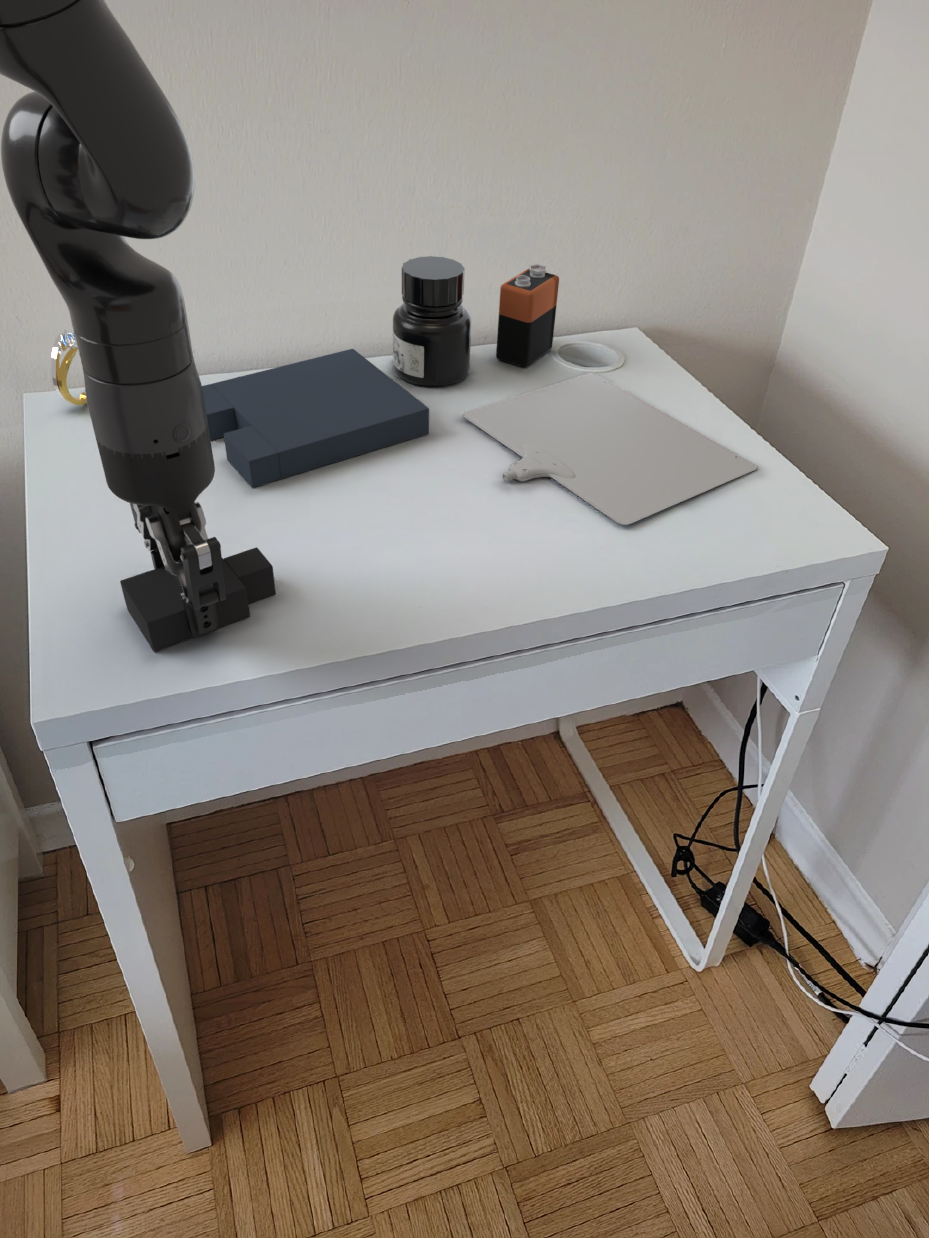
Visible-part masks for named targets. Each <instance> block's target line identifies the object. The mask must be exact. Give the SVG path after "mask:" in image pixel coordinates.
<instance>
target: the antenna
mask: <svg viewBox="0 0 929 1238" xmlns="http://www.w3.org/2000/svg"><path fill="white" fill-rule="evenodd" d="M462 417H463V418H464V419H466V420H467V421H469V422H470V423H472V424H473V425H474V426H475V427H477V428H479V429H480V430H482V431H483V432H485V433H486V434H488V435H489V436H490V437H492V438H493V439H494V440H496V441H498V442H499V443H501V444H502V445H504V446H505V447H507V448H508V449H510V451H512V452H514V454H517V455H518V456H520V457H521V459H520V460H517V461H515V462H512V463H510V464H509V466H508V467H507V468H508V471H505V472H503V473H502V479H503V481H505V482H508V481H511V480H513V479H514V480H516V481H519V482H521V483H523V482H527V481H529V480H532V479H538V478H551V479H553V480H554V481H556V482H557V483H559V484H560V485H562V486H563V487H564V488H566V489H567V490H569V491H570V492H572V493H573V494H575V495H576V496H578V497H579V498H580V499H582V500H583V501H585V502H586V503H588V504H589V505H591V506H593V508H595V509H596V510H598V511H600V512H601V513H602V514H604V515H605V516H607V517H608V518H610V519H611V520H613V522H615V523H617V524H618V525H621V526H629V525H632V524H634V523H636V522H639V521H640V520H644V519H646V518H648V517H650V516H652V515H654V514H657V513H659V512H662V511H664V510H667V509H669V508H671V507H673V506H676V505H677V504H680V503H682V502H685V501H687V500H689V499H692V498H694V497H696V496H698V495H700V494H701V495H702V494H704V493H705V492H708V491H710V490H713V489H715V488H717V487H720V486H721V485H724V484H727V483H729V482H731V481H733V480H736V479H737V478H740V477H743V476H746V475H747V474H749V473H752V472H753V471H756V470H757V469H758V466H757V465H756V464H755V463H754V462H752V461H750V460H749V459H747V458H745V457H743V456H742V455H740V454H737V453H736V452H734V451H733V450H731V449H729V448H727V447H726V446H724V445H723V444H721V443H718V442H717V441H715V440H713V439H711V438H709V437H708V436H706V435H704V434H703V433H701V432H700V431H698V430H696V429H694V428H693V427H690V426H688V425H687V424H685V423H684V422H682V421H680V420H679V419H676V418H674V416H671V415H669V414H667V413H666V412H664V411H662V410H660V409H658V408H657V407H655V406H654V405H651V404H650V403H648V402H646V401H645V400H643V399H641V398H639V397H637V396H636V395H634V394H632V393H631V392H628V391H627V390H625V389H623V388H622V387H620V386H618V385H616V384H615V383H613V382H611V381H609V380H608V379H605V377H603V376H601V375H599V374H596V373H594V372H593V373H592V372H588V373H584V374H581V375H578V376H576V377H572V378H569V379H566V380H563V381H562V380H561V381H559V382H556V383H553V384H550V385H546V386H542V387H540V388H537V389H533V390H531V391H527V392H524V393H521V394H518V395H514V396H512V397H511V396H510V397H508V398H504V399H502V400H498V401H496V402H495V401H494V402H491V403H489V404H486V405H483V406H479V407H476V408H473V409H470V410H469V409H468V410H466V411H464V412H463V413H462Z"/></svg>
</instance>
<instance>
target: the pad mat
mask: <svg viewBox="0 0 929 1238" xmlns="http://www.w3.org/2000/svg"><path fill="white" fill-rule="evenodd" d="M202 390H203V395H204V402H205V408H206V414H207V421H208V427H209V434H210V440H211V441H214V440H219V439H222V438H223V440H224V441H223V442H224V447H225V454H226V460H227V461H228V463H230V465H231V466H232V467H233V468H234V469H235V471H236V472H237V473H238V474H239V475H240V476H241V477H242V479H244V480H245V481H246V483H247V484H248V485H249V486H250V487H251V488H252V489H254V488H257V487H260V486H265V485H267V484H270V483H273V482H277V481H279V480H283V479H286V478H290V477H292V476H295V475H299V474H303V473H305V472H309V471H313V470H315V469H319V468H322V467H325V466H329V465H331V464H336V463H338V462H341V461H345V460H348V459H351V458H354V457H358V456H361V455H364V454H367V453H372V452H374V451H377V450H381V449H383V448H388V447H391V446H393V445H396V444H400V443H403V442H406V441H409V440H413V439H416V438H419V437H423V436H426V435H429V433H430V407H428V406H427V405H426V404H424V403H423V402H422V401H420V399H418V398H417V397H415V396H414V395H413V394H411V392H409V391H408V390H407V389H405V388H404V387H403V386H401V385H400V384H399V383H398V382H397V381H395V380H394V379H392V378H391V377H390V376H389V375H388V374H386V373H385V372H384V371H382V370H381V369H380V368H378V367H377V366H376V365H374V363H372V362H371V361H370V360H368V359H367V358H366V357H365V356H364V355H362V354H361V353H359V351H357V350H355V349H354V348H350V349H346V350H345V349H344V350H342V351H338V352H337V351H336V352H334V353H329V354H326V355H322V356H318V357H312V358H308V359H305V360H301V361H298V362H293V363H289V364H285V365H281V366H277V367H274V368H273V367H272V368H269V369H265V370H261V371H257V372H253V373H249V374H244V375H241V376H237V377H232V378H229V379H225V380H221V381H216V382H213V383H209V384H205V385H202Z"/></svg>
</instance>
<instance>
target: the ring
mask: <svg viewBox="0 0 929 1238" xmlns="http://www.w3.org/2000/svg"><path fill="white" fill-rule="evenodd" d="M54 339H55V340H54V343H53V346H52V351H51V357H50V358H51V359H50V360H51V361H50V369H51V378H52V383H53V386H54V389H55V390H56V393H57V394H58V396H59V397H60V398H61V399H62V400H63V401H65V402H67V403H69V404H72V405H74V406H83V405H87V400H86V393H85V391H84V392H81V393H80V394H79V397H74V396H72V394H71V393H70V391H69V389H68V380H67V379H68V373H69V370H70V367H71V364H72V363H73V360H74V358H75V356H76V354H77V353H78V347H77V343H76V338H75V334H74V332H72V333H70V332H69V330H68V329H63V332H61V333H60V334H58V335H57V336H56V338H54ZM67 349H69V350H68V351H67ZM65 351H67V352H66V354H65V355H64V357H63V358H62V361H61V357H62V356H61V355H62V352H65Z"/></svg>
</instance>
